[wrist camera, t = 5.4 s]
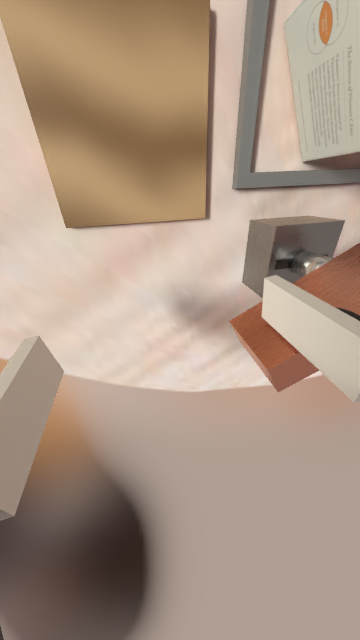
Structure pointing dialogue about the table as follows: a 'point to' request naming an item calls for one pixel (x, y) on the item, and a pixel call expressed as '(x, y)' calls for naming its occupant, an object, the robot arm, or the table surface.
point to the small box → (325, 76)
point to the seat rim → (248, 113)
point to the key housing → (285, 246)
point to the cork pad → (117, 103)
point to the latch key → (322, 282)
